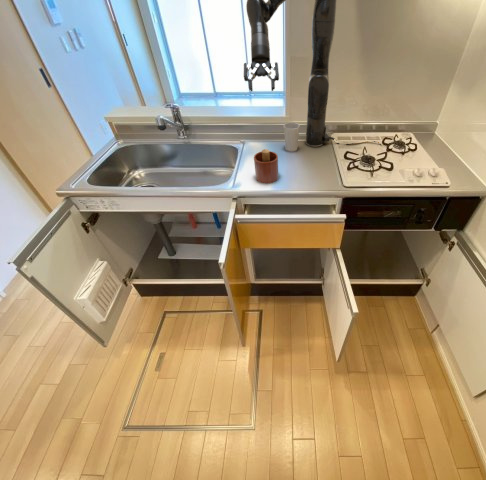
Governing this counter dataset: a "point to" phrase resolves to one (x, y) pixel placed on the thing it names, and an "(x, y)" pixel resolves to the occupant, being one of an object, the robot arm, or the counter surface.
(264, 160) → the utensil
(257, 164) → the crock
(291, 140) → the cup
